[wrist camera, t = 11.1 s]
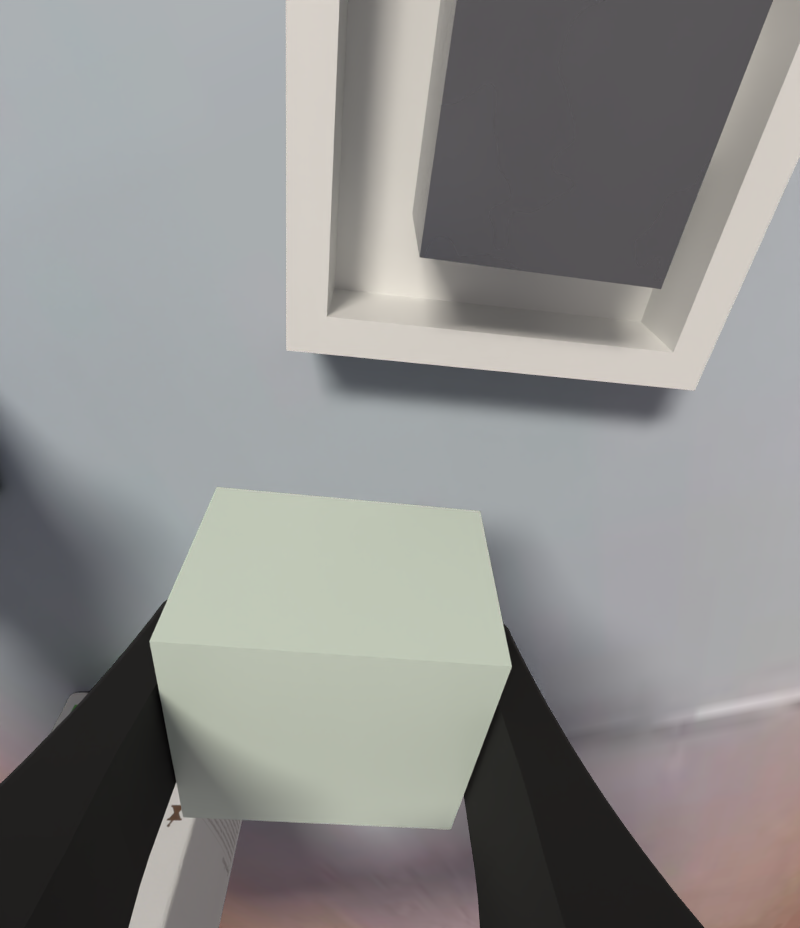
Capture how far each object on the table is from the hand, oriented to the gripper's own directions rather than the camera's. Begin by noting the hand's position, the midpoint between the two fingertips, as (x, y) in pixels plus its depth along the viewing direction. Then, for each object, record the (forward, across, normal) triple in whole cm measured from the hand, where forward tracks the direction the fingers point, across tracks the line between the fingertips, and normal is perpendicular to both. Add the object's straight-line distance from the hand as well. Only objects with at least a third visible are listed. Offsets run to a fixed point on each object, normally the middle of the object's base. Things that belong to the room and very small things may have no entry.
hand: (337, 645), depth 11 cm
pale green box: (+1, 0, 0) cm, 1 cm away
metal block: (+9, -3, -9) cm, 13 cm away
